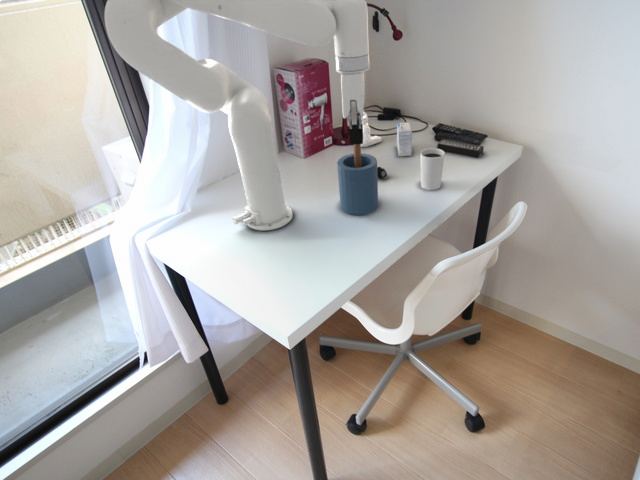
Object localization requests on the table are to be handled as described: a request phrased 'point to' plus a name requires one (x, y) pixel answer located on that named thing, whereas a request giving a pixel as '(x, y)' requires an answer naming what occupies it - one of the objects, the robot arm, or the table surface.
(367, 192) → the cup
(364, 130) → the sitting furry creature
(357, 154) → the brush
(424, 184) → the white tumbler
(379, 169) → the electric trimmer
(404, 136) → the medicine box
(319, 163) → the table surface
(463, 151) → the multiport hub
